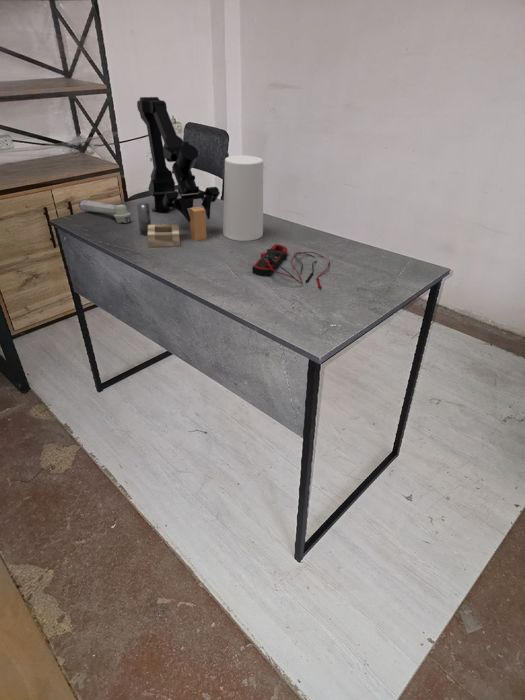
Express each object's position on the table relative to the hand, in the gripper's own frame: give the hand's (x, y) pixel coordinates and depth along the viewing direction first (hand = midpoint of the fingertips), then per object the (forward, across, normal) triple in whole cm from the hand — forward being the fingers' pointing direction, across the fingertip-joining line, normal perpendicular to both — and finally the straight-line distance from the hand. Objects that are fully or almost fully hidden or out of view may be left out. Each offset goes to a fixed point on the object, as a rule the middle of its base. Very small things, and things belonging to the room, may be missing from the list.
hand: (199, 220), depth 154 cm
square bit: (+4, 0, -6) cm, 7 cm away
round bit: (-4, +15, -14) cm, 21 cm away
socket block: (+2, +12, -7) cm, 14 cm away
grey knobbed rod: (-21, +22, -31) cm, 44 cm away
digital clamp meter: (+29, -16, +19) cm, 38 cm away
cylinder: (+6, -16, -4) cm, 17 cm away
